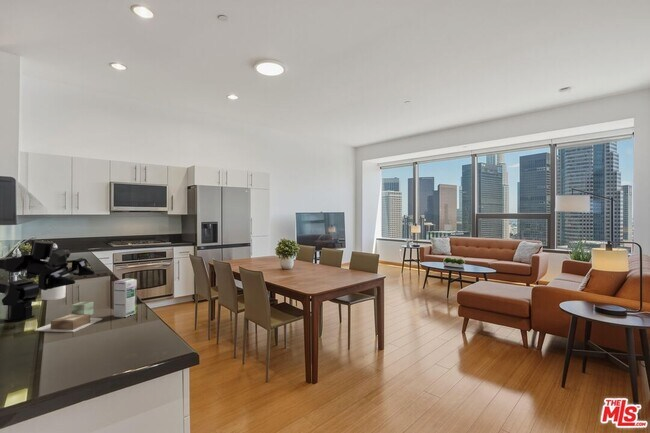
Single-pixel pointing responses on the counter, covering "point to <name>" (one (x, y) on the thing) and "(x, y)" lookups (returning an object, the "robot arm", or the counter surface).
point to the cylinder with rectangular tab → (53, 293)
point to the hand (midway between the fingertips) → (84, 277)
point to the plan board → (69, 323)
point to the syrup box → (125, 297)
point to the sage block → (83, 308)
